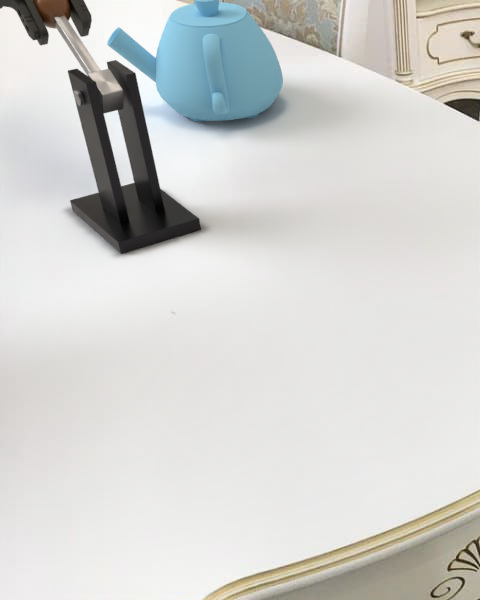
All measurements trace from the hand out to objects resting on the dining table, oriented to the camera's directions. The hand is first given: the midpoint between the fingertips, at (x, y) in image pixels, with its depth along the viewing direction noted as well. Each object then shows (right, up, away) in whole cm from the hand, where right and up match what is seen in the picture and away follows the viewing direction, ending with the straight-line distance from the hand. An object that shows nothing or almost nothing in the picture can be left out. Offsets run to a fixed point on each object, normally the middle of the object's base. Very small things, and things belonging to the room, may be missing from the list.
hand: (65, 35), depth 110 cm
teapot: (+6, +6, +29) cm, 30 cm away
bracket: (+5, -16, +7) cm, 18 cm away
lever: (+1, -3, 0) cm, 3 cm away
